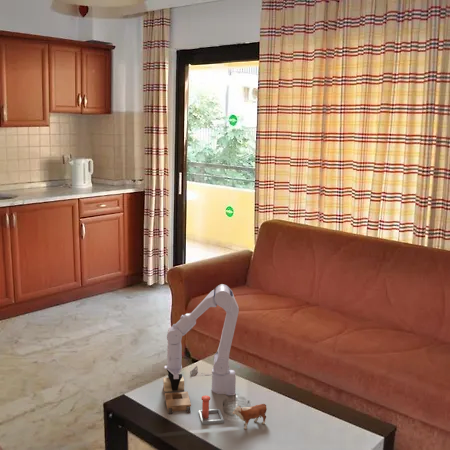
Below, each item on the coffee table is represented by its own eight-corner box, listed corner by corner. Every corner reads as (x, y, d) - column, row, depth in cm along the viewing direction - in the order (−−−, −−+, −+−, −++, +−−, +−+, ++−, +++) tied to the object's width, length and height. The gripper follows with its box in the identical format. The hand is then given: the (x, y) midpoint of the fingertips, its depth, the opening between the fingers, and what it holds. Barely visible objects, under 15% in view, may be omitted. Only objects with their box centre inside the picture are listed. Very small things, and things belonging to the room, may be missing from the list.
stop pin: (204, 414, 207) (205, 394, 206) (211, 417, 205) (212, 397, 204) (199, 417, 205) (199, 397, 203) (205, 420, 203) (206, 400, 201)
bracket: (211, 383, 233) (211, 376, 232) (190, 379, 237) (190, 371, 236) (217, 377, 239) (217, 369, 238) (196, 372, 242) (196, 365, 242)
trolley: (186, 396, 221) (187, 389, 220) (191, 414, 208) (191, 407, 207) (164, 398, 219) (164, 390, 218) (167, 416, 206) (167, 408, 205)
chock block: (182, 387, 228) (183, 376, 227) (184, 392, 224) (184, 381, 223) (163, 389, 226) (163, 377, 225) (164, 393, 223) (164, 382, 222)
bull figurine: (230, 425, 201) (231, 405, 200) (263, 418, 206) (264, 398, 205) (235, 432, 197) (236, 411, 196) (269, 424, 202) (270, 404, 201)
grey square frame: (219, 413, 209) (219, 408, 209) (223, 425, 201) (223, 420, 201) (198, 415, 207) (198, 410, 207) (201, 426, 200) (201, 421, 199)
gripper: (162, 349, 229) (162, 379, 231) (166, 364, 215) (165, 397, 217) (179, 348, 230) (179, 378, 233) (184, 363, 216) (183, 395, 219)
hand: (174, 387), depth 225 cm, fingers closed on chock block, 4 cm apart
